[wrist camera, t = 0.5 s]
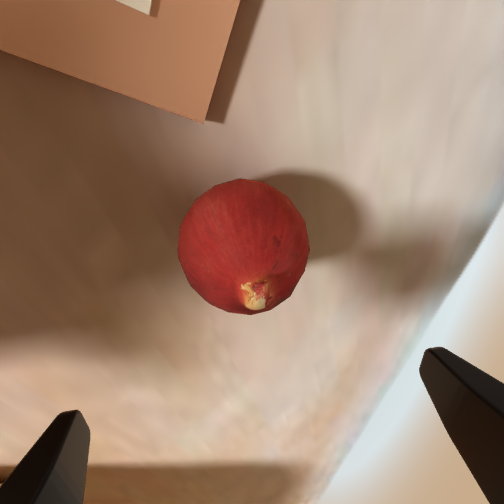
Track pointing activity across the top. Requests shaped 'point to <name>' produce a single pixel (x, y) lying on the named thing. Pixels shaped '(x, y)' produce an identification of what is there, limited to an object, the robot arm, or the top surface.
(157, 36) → the letter tile
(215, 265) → the onion
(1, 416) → the top surface
